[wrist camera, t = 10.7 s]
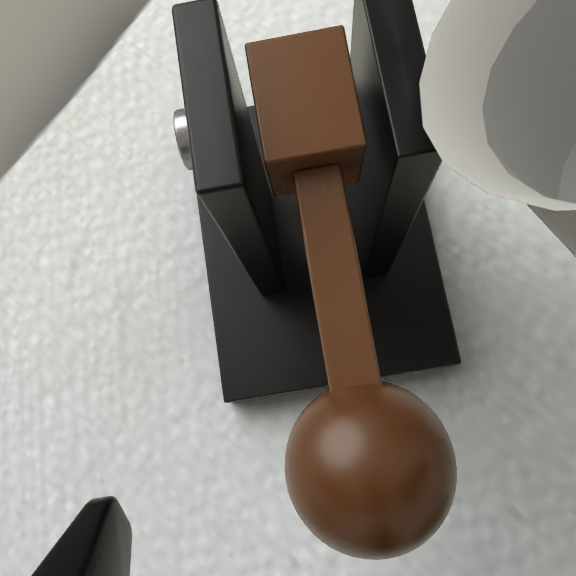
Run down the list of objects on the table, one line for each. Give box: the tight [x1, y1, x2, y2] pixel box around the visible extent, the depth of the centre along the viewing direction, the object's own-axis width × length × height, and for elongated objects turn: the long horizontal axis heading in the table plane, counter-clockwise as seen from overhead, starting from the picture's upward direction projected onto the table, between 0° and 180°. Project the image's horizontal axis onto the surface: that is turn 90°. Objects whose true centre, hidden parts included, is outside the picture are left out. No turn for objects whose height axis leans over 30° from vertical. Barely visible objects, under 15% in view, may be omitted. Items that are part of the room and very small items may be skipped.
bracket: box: [172, 0, 461, 403], centre depth 17 cm, size 12×9×12 cm
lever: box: [245, 25, 457, 560], centre depth 12 cm, size 11×4×4 cm, turn 9°
